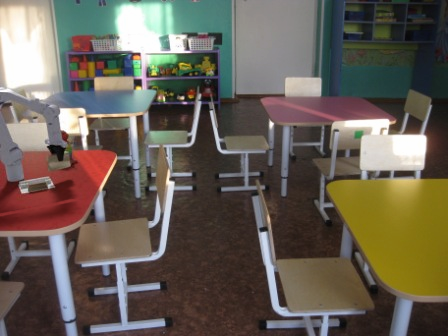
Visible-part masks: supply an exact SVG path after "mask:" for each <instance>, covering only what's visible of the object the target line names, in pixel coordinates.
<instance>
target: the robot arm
mask: <svg viewBox="0 0 448 336" xmlns="http://www.w3.org/2000/svg"><path fill="white" fill-rule="evenodd" d="M9 101H12V102H14V103H17V104H20V105H22V106H26V107H27V108H28V110H29V111H31V112H34V113H36V114H39V115H41V116H42V117H43V118H44V120H45V123H46V130H47V137H48V138H46V139H44V144H46V148H47V149H48V151H49V153H50V155H52V154H57V158H58V161H59V162H60V161H63V159H64V152H65V149H66V147H68V145H67V143H66V142H64V141H63V140H62V135H61V130H62V129H61V122H60V114H61V109H60V107H59V106H58V105H56V104H55V103H52V104H50V102H45V101H42V100H40V98H38V97H35V98H34V97H33V98H28V97H26V96H24V95H22V94H20V93H18V92H16V91H14V90H12V89H11V88H7V87H5V86H0V162H1V163H2V164H4V167H5V173H6V178H7V179H6V180H7V181H8V182H11V183H12V182H21V181H23V180H24V179H25V175H24V168H23V162H22V160H23V158H24V151H23V150H22V149H21V148H20V146H19V144H18V143H16V142H14V141H13V138H12V135H11V133H10V131H9V127H8V125H7V124H6V120H5V118H4V116H3V113H2V111H1V109H2V106H3V105H4V104H5V103H6V102H9Z"/></svg>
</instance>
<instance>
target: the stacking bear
mask: <svg viewBox="0 0 448 336" xmlns="http://www.w3.org/2000/svg"><path fill="white" fill-rule="evenodd" d="M61 135H62V140H63V141H64V142H66V143H67V145H68V147H66V149H65V151H67V152H69V157H70V165H72V164H71V163H74V164H76V163H75V162H77V161H78V159H76V158H74V157H73V147H72V145H71V143H70V141H69V140H68V139H69V137H70V135H69V133H68V132H66V130H62V129H61ZM77 163H78V162H77Z"/></svg>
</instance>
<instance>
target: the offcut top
mask: <svg viewBox="0 0 448 336" xmlns="http://www.w3.org/2000/svg"><path fill="white" fill-rule="evenodd" d="M28 185H29V188H35V187H40V186H46V181H45V180H44V181H38V182H32V183H28Z"/></svg>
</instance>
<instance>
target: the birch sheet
mask: <svg viewBox="0 0 448 336" xmlns="http://www.w3.org/2000/svg"><path fill="white" fill-rule="evenodd" d="M45 158H46V165H47V170H48V172H56V171H59V170H62V169H66V168H69V167H71V165H72V164H70V157H69V152H67V151H65V152H64V159H63V161H60V162H59V161H58V158H57V154H49V155H46V156H45Z"/></svg>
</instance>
